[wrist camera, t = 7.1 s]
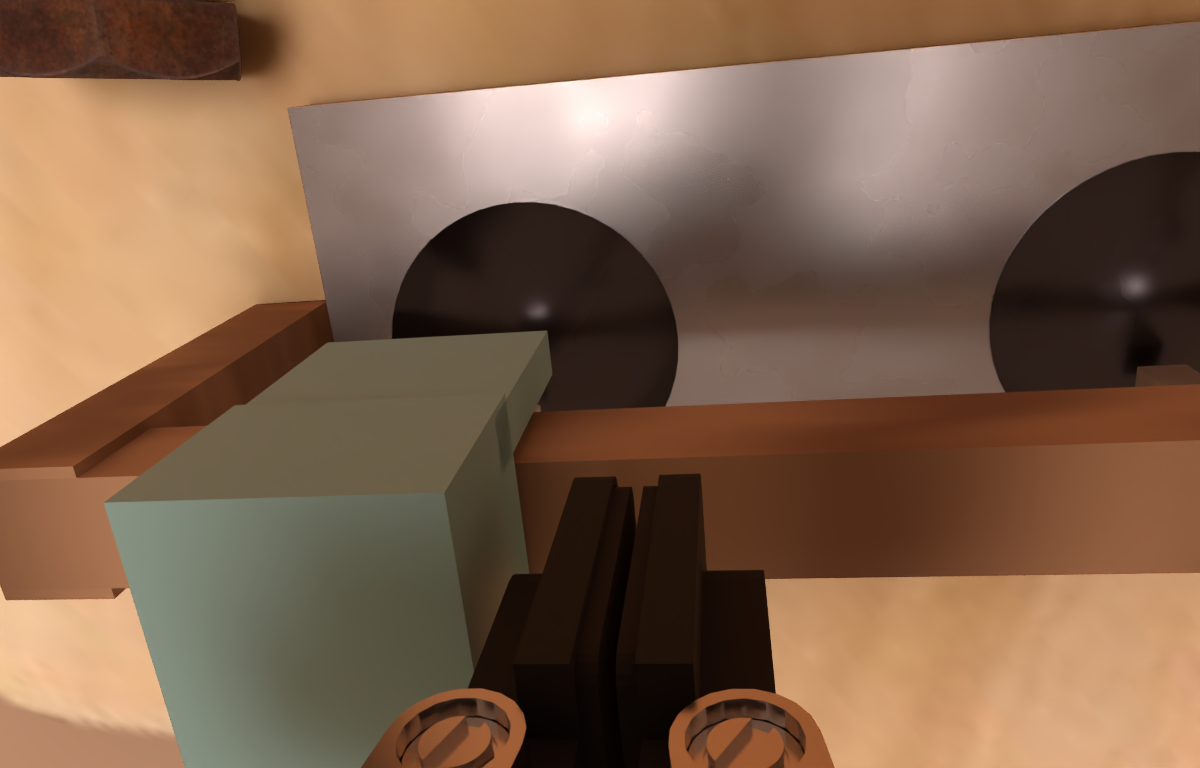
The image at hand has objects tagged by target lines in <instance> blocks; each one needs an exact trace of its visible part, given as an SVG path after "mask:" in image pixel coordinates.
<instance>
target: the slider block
mask: <svg viewBox="0 0 1200 768" xmlns="http://www.w3.org/2000/svg"><path fill="white" fill-rule="evenodd" d="M551 376H552V367H551V358H550V349H549V341H548V332H547V331H531V332H512V333H494V334H476V335H458V336H439V337H421V338H403V339H385V340H367V341H348V342H330V343H326V344H325V345H323V346H322V347H321V348H320V349H318V350H317V351H316V352H314V353H313V354H312V355H310V356H309V357H308V358H306V359H305V360H304V361H302V362H301V363H300V364H298V365H297V366H296V367H295V368H293V369H292V370H291V371H289V372H288V373H287V374H285V375H284V376H283V377H281V378H280V379H279V380H277V381H276V382H275V383H273V384H272V385H271V386H269V387H268V388H267V389H266V390H264V391H263V392H262V393H260V394H259V395H258V396H256V397H255V398H254V399H252V400H251V401H250V402H248V403H247V404H246V405H234V406H233V407H232V408H230V409H229V410H228V411H226V412H225V413H224V414H222V415H221V416H220V417H218V418H217V419H216V420H214V421H213V422H211V423H210V424H209V425H207V426H206V427H205V428H203V429H202V430H201V431H199V432H198V433H197V434H195V435H194V436H193V437H191V438H190V439H189V440H187V441H186V442H185V443H183V444H182V445H181V446H179V447H178V448H176V449H175V450H174V451H172V452H171V453H170V454H168V455H167V456H166V457H164V458H163V459H162V460H160V461H159V462H158V463H156V464H155V465H154V466H152V467H151V468H150V469H148V470H147V471H146V472H144V473H143V474H141V475H140V476H139V477H137V478H136V479H135V480H133V481H132V482H131V483H129V484H128V485H127V486H125V487H124V488H123V489H121V490H120V491H119V492H117V493H116V494H115V495H113V496H112V497H111V498H109V499H108V500H106V501H105V502H104V506H105V509H106V512H107V516H108V519H109V522H110V525H111V529H112V532H113V535H114V538H115V542H116V545H117V548H118V551H119V555H120V558H121V561H122V564H123V568H124V571H125V574H126V577H127V581H128V584H129V587H130V590H131V594H132V597H133V600H134V603H135V607H136V610H137V613H138V616H139V620H140V623H141V626H142V629H143V632H144V636H145V639H146V642H147V645H148V649H149V652H150V655H151V658H152V662H153V665H154V668H155V671H156V675H157V678H158V681H159V684H160V688H161V691H162V694H163V697H164V701H165V704H166V707H167V710H168V714H169V717H170V720H171V723H172V727H173V730H174V733H175V736H176V740H177V743H178V746H179V749H180V752H181V756H182V759H183V762H184V766H185V768H361V767H362V765H363V764H364V762H365V761H366V759H367V758H368V756H369V755H370V754H371V752H372V751H373V749H374V748H375V746H376V745H377V743H378V742H379V740H380V739H381V738H382V736H383V735H384V733H385V732H386V730H387V729H388V727H389V726H390V725H391V724H392V723H393V722H394V721H395V720H396V719H397V718H398V717H399V716H400V714H401V713H403V712H404V711H406V710H407V709H409V708H410V707H412V706H413V705H415V704H416V703H418V702H419V701H421V700H424V699H426V698H429V697H431V696H433V695H436V694H438V693H442V692H447V691H451V690H456V689H467V688H468V686H469V683H470V681H471V678H472V676H473V673H474V670H475V668H476V665H477V663H478V660H479V657H480V655H481V652H482V650H483V647H484V645H485V642H486V639H487V637H488V634H489V632H490V629H491V626H492V624H493V621H494V619H495V616H496V614H497V611H498V608H499V606H500V603H501V601H502V598H503V595H504V593H505V590H506V588H507V585H508V583H509V580H510V579H511V577H512V575H514V574H529V566H528V559H527V551H526V544H525V537H524V529H523V522H522V515H521V507H520V500H519V493H518V485H517V478H516V470H515V463H514V456H513V452H514V450H515V448H516V446H517V444H518V442H519V440H520V438H521V436H522V434H523V432H524V430H525V428H526V426H527V424H528V422H529V420H530V418H531V416H532V414H533V412H541V409H540V405H537V404H538V402H539V400H540V398H541V396H542V394H543V392H544V390H545V388H546V386H547V384H548V382H549V380H550V378H551Z"/></svg>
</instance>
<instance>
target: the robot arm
mask: <svg viewBox="0 0 1200 768" xmlns="http://www.w3.org/2000/svg"><path fill="white" fill-rule="evenodd" d="M361 768H834V765H833V762H832V760H831V757H830V754H829V752H828V749H827V746H826V744H825V741H824V738H823V736H822V733H821V731H820V729H819V727H818V726H817V724H816V722H815V721H814V719H813V718H812V716H811V715H810V714H809V713H808V712H806V711H805V710H804V709H803V708H802V707H800V706H799V705H798V704H797V703H795V702H793V701H791V700H789V699H787V698H784V697H782V696H780V695H778V694H776V692H775V681H774V670H773V660H772V649H771V639H770V628H769V618H768V607H767V596H766V586H765V576H764V570H712V571H707V564H706V548H705V531H704V515H703V498H702V483H701V474H671V475H659V479H658V486H644V487H643V492H642V498H641V504H640V510H639V516H638V522H637V528H636V518H635V507H634V496H633V490H632V487H618V483H617V479H616V477H615V476H609V477H577V478H574V480H573V482H572V485H571V488H570V491H569V494H568V497H567V500H566V503H565V506H564V509H563V513H562V516H561V519H560V522H559V525H558V528H557V531H556V534H555V537H554V540H553V543H552V546H551V549H550V552H549V555H548V558H547V561H546V564H545V567H544V570H543V573H536V574H514V575H512V577H511V579H510V580H509V583H508V585H507V588H506V590H505V593H504V595H503V598H502V601H501V603H500V606H499V608H498V611H497V614H496V616H495V619H494V621H493V624H492V626H491V629H490V632H489V634H488V637H487V639H486V642H485V645H484V647H483V650H482V652H481V655H480V657H479V660H478V663H477V665H476V668H475V670H474V673H473V676H472V678H471V681H470V683H469V686H468V688H467V689H456V690H451V691H447V692H442V693H438V694H436V695H433V696H431V697H429V698H426V699H424V700H421V701H419V702H418V703H416V704H415V705H413V706H412V707H410V708H409V709H407V710H406V711H404V712H403V713H401V714H400V716H399V717H398V718H397V719H396V720H395V721H394V722H393V723H392V724H391V725H390V726H389V727H388V729H387V730H386V732H385V733H384V735H383V736H382V738H381V739H380V740H379V742H378V743H377V745H376V746H375V748H374V749H373V751H372V752H371V754H370V755H369V756H368V758H367V759H366V761H365V762H364V764H363V765H362V767H361Z"/></svg>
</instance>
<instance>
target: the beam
mask: <svg viewBox="0 0 1200 768" xmlns="http://www.w3.org/2000/svg"><path fill="white" fill-rule="evenodd" d="M330 342H334V338H333V333H332V328H331V323H330V318H329V313H328V308H327V303H326V300H321V301H305V302H289V303H273V304H257V305H254V306H252V307H251V308H249V309H247V310H245V311H244V312H242V313H240V314H238V315H236V316H235V317H233V318H231V319H229V320H227V321H226V322H224V323H222V324H220V325H218V326H217V327H215V328H213V329H211V330H210V331H208V332H206V333H204V334H202V335H201V336H199V337H197V338H195V339H193V340H192V341H190V342H188V343H186V344H184V345H183V346H181V347H179V348H177V349H175V350H174V351H172V352H170V353H168V354H167V355H165V356H163V357H161V358H159V359H158V360H156V361H154V362H152V363H150V364H149V365H147V366H145V367H143V368H141V369H140V370H138V371H136V372H134V373H132V374H131V375H129V376H127V377H125V378H124V379H122V380H120V381H118V382H116V383H115V384H113V385H111V386H109V387H107V388H106V389H104V390H102V391H100V392H98V393H97V394H95V395H93V396H91V397H89V398H88V399H86V400H84V401H82V402H81V403H79V404H77V405H75V406H73V407H72V408H70V409H68V410H66V411H64V412H63V413H61V414H59V415H57V416H55V417H54V418H52V419H50V420H48V421H47V422H45V423H43V424H41V425H39V426H38V427H36V428H34V429H32V430H30V431H29V432H27V433H25V434H23V435H21V436H20V437H18V438H16V439H14V440H12V441H11V442H9V443H7V444H5V445H4V446H2V447H0V585H1V588H2V591H3V594H4V596H5V599H6V600H54V599H115V598H116V597H117V596H118V595H119V594H120V593H121V592H123V591H124V590H125V589H126V588H130V587H129V584H128V581H127V577H126V574H125V571H124V568H123V564H122V561H121V558H120V555H119V551H118V548H117V545H116V542H115V538H114V535H113V532H112V529H111V525H110V522H109V519H108V516H107V512H106V509H105V506H104V502H105V501H106V500H108V499H109V498H111V497H112V496H113V495H115V494H116V493H117V492H119V491H120V490H121V489H123V488H124V487H125V486H127V485H128V484H129V483H131V482H132V481H133V480H135V479H136V478H137V477H139V476H140V475H141V474H143V473H144V472H146V471H147V470H148V469H150V468H151V467H152V466H154V465H155V464H156V463H158V462H159V461H160V460H162V459H163V458H164V457H166V456H167V455H168V454H170V453H171V452H172V451H174V450H175V449H176V448H178V447H179V446H181V445H182V444H183V443H185V442H186V441H187V440H189V439H190V438H191V437H193V436H194V435H195V434H197V433H198V432H199V431H201V430H202V429H203V428H205V427H206V426H207V425H209V424H210V423H211V422H213V421H214V420H216V419H217V418H218V417H220V416H221V415H222V414H224V413H225V412H226V411H228V410H229V409H230V408H232V407H233V406H234V405H246V404H247V403H248V402H250V401H251V400H252V399H254V398H255V397H256V396H258V395H259V394H260V393H262V392H263V391H264V390H266V389H267V388H268V387H269V386H271V385H272V384H273V383H275V382H276V381H277V380H279V379H280V378H281V377H283V376H284V375H285V374H287V373H288V372H289V371H291V370H292V369H293V368H295V367H296V366H297V365H298V364H300V363H301V362H302V361H304V360H305V359H306V358H308V357H309V356H310V355H312V354H313V353H314V352H316V351H317V350H318V349H320V348H321V347H322V346H323V345H325V344H326V343H330ZM513 456H514V463H515V470H516V478H517V485H518V493H519V500H520V507H521V515H522V522H523V529H524V537H525V544H526V551H527V559H528V566H529V574H536V573H543V570H544V567H545V564H546V561H547V558H548V555H549V552H550V549H551V546H552V543H553V540H554V537H555V534H556V531H557V528H558V525H559V522H560V519H561V516H562V513H563V509H564V506H565V503H566V500H567V497H568V494H569V491H570V488H571V485H572V482H573V480H574V478H577V477H609V476H615V477H616V479H617V483H618V487H632V490H633V496H634V507H635V518H636V528H637V522H638V516H639V510H640V504H641V498H642V492H643V487H644V486H658V479H659V475H671V474H701V483H702V498H703V515H704V531H705V548H706V564H707V571H712V570H764V576H765V579H790V578H860V577H930V576H999V575H1069V574H1138V573H1200V373H1199V372H1197V371H1196V370H1194V369H1193V368H1191V367H1190V366H1188V365H1187V364H1186V365H1163V366H1141V367H1137V374H1136V383H1135V387H1122V388H1098V389H1074V390H1050V391H1026V392H1002V393H979V394H955V395H931V396H907V397H883V398H859V399H835V400H811V401H787V402H763V403H739V404H715V405H691V406H668V407H644V408H620V409H596V410H572V411H548V412H533V414H532V416H531V418H530V420H529V422H528V424H527V426H526V428H525V430H524V432H523V434H522V436H521V438H520V440H519V442H518V444H517V446H516V448H515V450H514V452H513Z"/></svg>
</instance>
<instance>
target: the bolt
mask: <svg viewBox="0 0 1200 768" xmlns="http://www.w3.org/2000/svg"><path fill="white" fill-rule="evenodd" d="M0 77H31V78H104V79H170V80H238V81H240V79H241V57H240V46H239V36H238V25H237V15H236V5H235V4H232V3H220V2H208V1H197V0H0Z"/></svg>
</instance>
